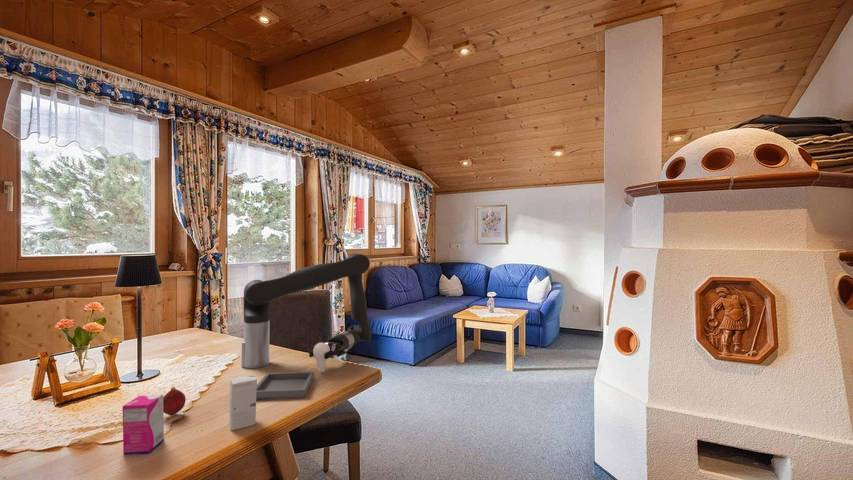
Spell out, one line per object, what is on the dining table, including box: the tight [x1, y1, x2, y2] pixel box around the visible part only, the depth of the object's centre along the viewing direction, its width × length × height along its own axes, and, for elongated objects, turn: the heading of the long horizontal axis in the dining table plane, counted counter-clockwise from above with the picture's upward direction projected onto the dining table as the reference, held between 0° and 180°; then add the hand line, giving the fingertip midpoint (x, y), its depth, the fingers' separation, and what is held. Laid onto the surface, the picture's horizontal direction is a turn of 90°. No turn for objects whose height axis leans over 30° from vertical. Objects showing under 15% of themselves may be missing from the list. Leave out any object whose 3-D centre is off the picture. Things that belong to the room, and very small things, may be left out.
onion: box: [163, 386, 186, 417], centre depth 102 cm, size 6×6×8 cm
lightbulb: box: [313, 342, 330, 373], centre depth 135 cm, size 6×6×11 cm
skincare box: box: [228, 375, 258, 431], centre depth 97 cm, size 6×4×12 cm
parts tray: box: [256, 371, 315, 401], centre depth 121 cm, size 16×16×2 cm
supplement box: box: [122, 394, 165, 456], centre depth 86 cm, size 6×6×12 cm
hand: (317, 355), depth 133 cm, fingers closed on lightbulb, 5 cm apart
